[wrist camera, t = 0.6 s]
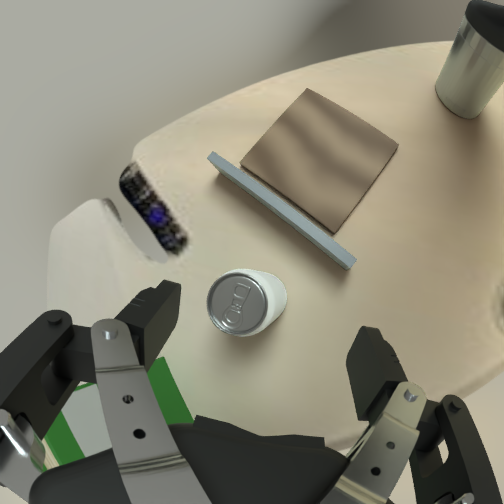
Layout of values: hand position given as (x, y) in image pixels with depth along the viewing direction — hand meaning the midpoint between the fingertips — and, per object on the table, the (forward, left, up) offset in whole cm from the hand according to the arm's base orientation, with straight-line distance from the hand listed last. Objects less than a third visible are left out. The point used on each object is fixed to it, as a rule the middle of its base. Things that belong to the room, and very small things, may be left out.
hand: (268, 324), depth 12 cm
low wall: (-7, -9, -24) cm, 26 cm away
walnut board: (-17, -10, -24) cm, 31 cm away
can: (+3, -4, -24) cm, 25 cm away
